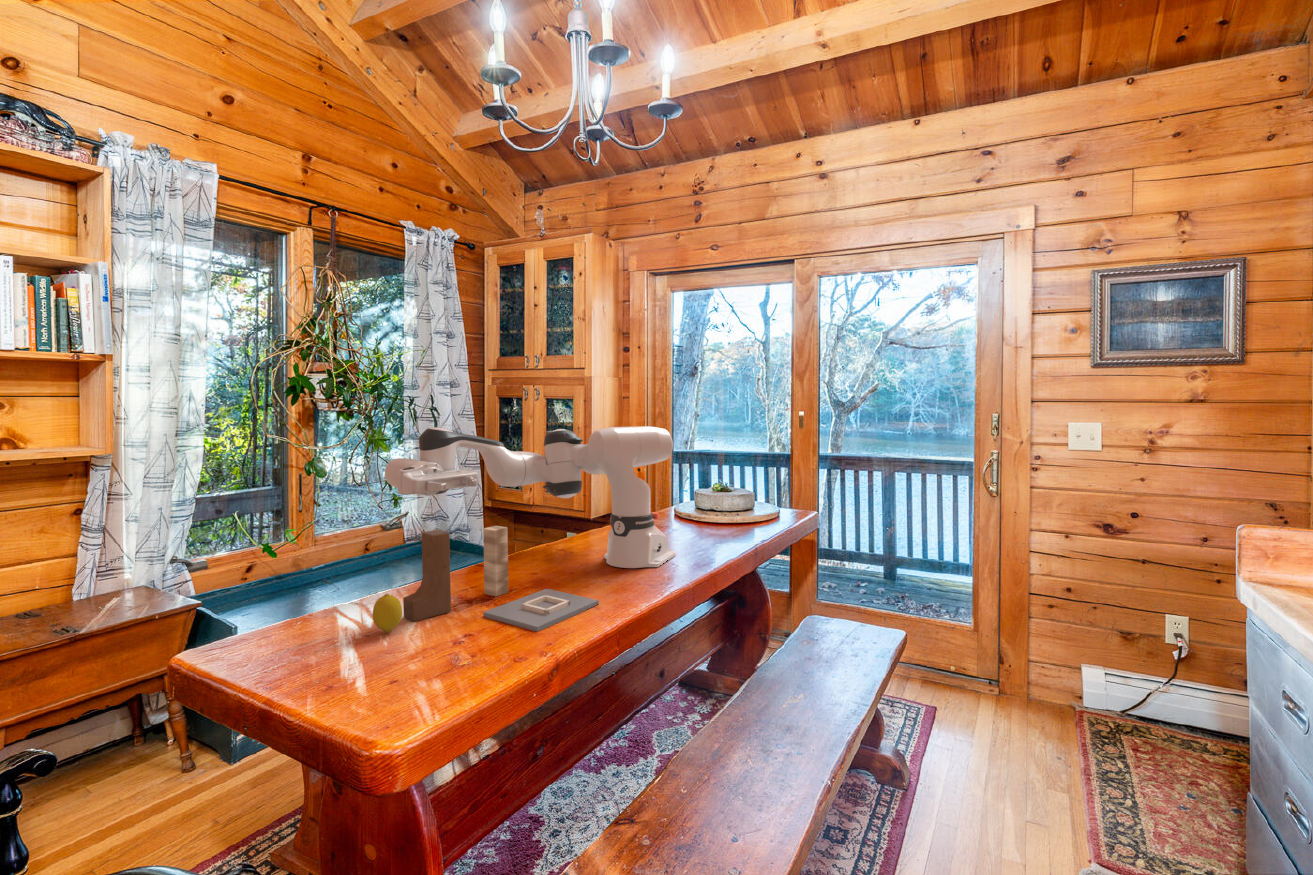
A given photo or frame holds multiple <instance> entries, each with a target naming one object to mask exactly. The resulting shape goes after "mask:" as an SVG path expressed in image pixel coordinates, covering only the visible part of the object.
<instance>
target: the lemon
mask: <svg viewBox="0 0 1313 875" xmlns="http://www.w3.org/2000/svg"><path fill="white" fill-rule="evenodd" d="M402 617H403V607H402V604H401V601H400V600H399V599H398V597H396V596H394V595H392V594H389V593H385V594H383V596H381V597H379V598H378V599H377V600H376V601H375V602H374V605H373V609H372V621H373V623H374V625H375V627H376V628H378V629H379V630H382V631H384V632H385V633H387V634H388V633H390V632H391V631H392V630H394V629H395V628H396V627H398V625H399V624H400V622H402V621H401V620H402V619H403V618H402Z"/></svg>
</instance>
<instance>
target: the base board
mask: <svg viewBox="0 0 1313 875" xmlns="http://www.w3.org/2000/svg"><path fill="white" fill-rule="evenodd" d="M599 603H600V602H599V599H595V598H594V599H593V598H590V597H585V596H581V595H577V594H572V593H567V592H563V591H559V590H555V589H550V588H544V589H542V590H539V591H537V592H533V593H531V594H528V595H526V596H523V597H520V598H517V599H514V600H512V601H509V602H507V603H504V604H501V605H498V606H496V607H493V608H491V609H488V610H486V611H483V612H482V614H483V617H484V618H488V619H490V620H495V621H499V622H501V623H505V624H509V625H512V626H516V627H519V628H523V629H526V630H530V631H533V632H536V633H537V632H539V631H542V630H544V629H547V628H549V627H551V626H554V625H556V624H559V623H560V622H563V621H564V620H567V619H569V618H571V617H574V616H576V615H579V614H581V613H582V612H585V611H588V610H590V609H592V608H594V607H596V606H595V605H597V604H599ZM593 606H594V607H593ZM597 606H598V605H597ZM591 607H592V608H591ZM589 608H590V609H589ZM587 609H588V610H587Z"/></svg>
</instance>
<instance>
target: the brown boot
mask: <svg viewBox="0 0 1313 875" xmlns="http://www.w3.org/2000/svg"><path fill="white" fill-rule="evenodd" d="M450 547H451V546H450V532H449V531H445V530H442V529H435V530H428V531H424V532H421V564H422V565H421V566H422V571H421V572H422V577H421V582H420V586H418V588H417V589H416V591H415V592H413V593H411V594H409V595H406V596H404V597H403V600H402V601H403V603H402V604H403V607H402V609H403V618H405V619H406V620H408V621H410V622H413V623H414V622H418V621H421V620H424V619H425V620H427V619H429V618H433V617H436V616H441V615H444V614H448V613H450V612H452V602H451V601H452V597H451V595H452V592H451V590H452V589H451V554H450V552H451V548H450Z"/></svg>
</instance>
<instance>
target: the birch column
mask: <svg viewBox="0 0 1313 875" xmlns="http://www.w3.org/2000/svg"><path fill="white" fill-rule="evenodd" d="M508 532H509V531H508V527H507V526H500V525H492V526H489V527H483V575H484V576H483V577H484V578H483V581H484V582H483V584H484V585H483V586H484V588H483V589H484V590H483V591H484V595H488V596H492V597H500V596H502V595H504V594H508V593H509V546H508V545H509V542H508V540H509V538H508V534H509V533H508Z"/></svg>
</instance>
